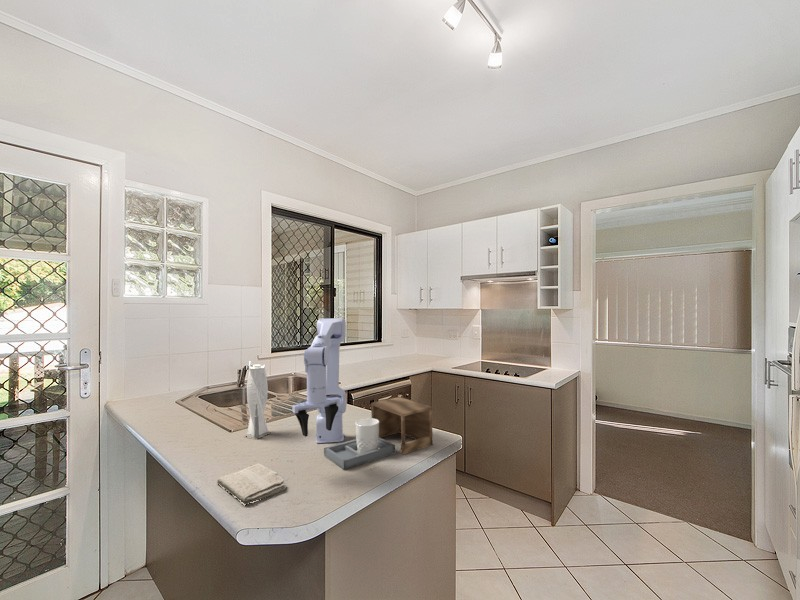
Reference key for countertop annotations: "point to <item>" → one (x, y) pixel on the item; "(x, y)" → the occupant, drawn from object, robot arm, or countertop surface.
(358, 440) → the white cup
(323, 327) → the robot arm
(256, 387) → the skyscraper
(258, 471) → the washcloth
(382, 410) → the shelf
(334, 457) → the tray
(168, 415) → the countertop surface
